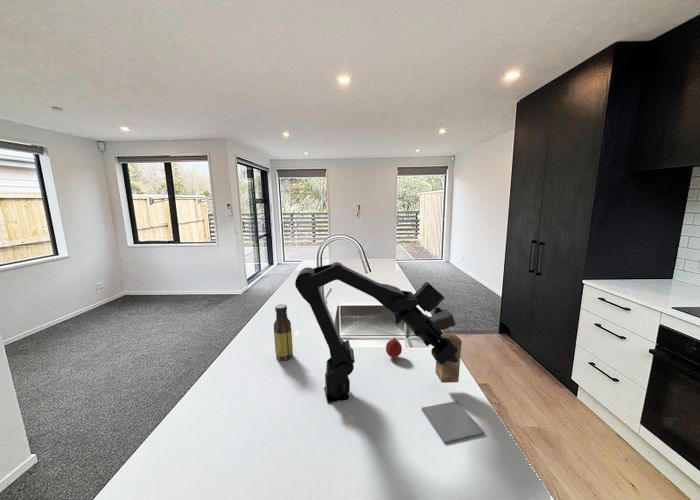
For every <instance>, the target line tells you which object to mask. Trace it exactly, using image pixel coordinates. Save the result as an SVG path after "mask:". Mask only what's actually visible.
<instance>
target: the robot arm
mask: <svg viewBox="0 0 700 500" xmlns="http://www.w3.org/2000/svg"><path fill="white" fill-rule="evenodd" d="M337 280H338V281H340V282H341V283H344V284H345V285H348V286H349V287H351V288H354V289H356V290H358V291H360V292H363V293H364V294H366V295H368V296H370V297H372V298H374V299H375V300H377V301H378V302H379V303H380V304H381V305H382V306H383V307H385V308H386V309H387V310H388V311H390V312H392V314H393V316H392V320H393V321H394V324H396V325H398V324H399V323H401V321H402V322H403V323H405V325H406V326H407V327H408V328H409V329H411V331H413V333H414V335H415V336H416V337H417V338H418V337H419V338H420V339H421V341H422V342H423V343H424V344H425V346H426V347H429V346H431V347H432V348H431V351H430V354H431V355H432V357H433V358H434V360H435V362H436V361H437V362H438V363H439V364H440V365H443V364H444V363H445V362H446V361H450V362H454V363H456V362H457V361H458V359H457V358H456V356H455V355H454V354H455V353H456V352H457V351H458V349H457V348H456V346H455V345H454V344H453V343H452V342H451V341H450V340H449V339H448V338H443V339H442V338H441V335H442V334H443V333H444V332H443V331H445V330H447V329H449V328H450V327H454V326H456V321H455V318H454V315H453V314H452V313H451V311H449V310H448V309H445V308H443V309H442V308H440V306H439V305H440V304H441V303H442V302H443V301H444V300H445V296H443V294H442V293H441V292H440V291H438V290H437V289H436V288H435V287H434V286H432V285H431V283H429V282H428V281H425V282H424V283H423V284H422V286H421V287H420V288H419V289H418V290H416V291H415V293H413V292H412V291H408V290H402V289H400V288H399V287H397V286H394V285H390V284H386V283H381V282H377V281H375V280H373V279H371V278H369V277H367V276H366V275H363V274H362V273H359V272H357V271H355V270H353V269H352V268H350V267H347V266H345V265H344V264H342V263H341V262H339V261H336V262H335V261H334V262H333V263H330V264H326V265H320V266H317V267H309V266H308V267H304V268H302V269H301V270H300V271H299V272H298V275H297V277H296V279H295V281H294V284H295V289H296V290H297V291H298V293H299V294H300V295H301V297H302V299H304V300H305V301H306V303H308V305H309V307H310V308H311V311H312V313H313V315H314V317H315V320H316V322H317V324H318V326H319V328H320V331H321V334H322V335H323V337H324V339H325V341H326V345H327V346H328V349H329V350H328V351H329V355H330V357H329V358H328V359H327V360H326V367H325V368H326V370H325V373H324V379H325V380H324V383H325V384H324V387H323V391H324V394H325V398H326V402H327V404H330V403H335V402H343V401H347V400H348V401H349V400H350V396H349V395H350V394H349V393H350V392H351V391H350V390H351V389H350V384H351V381H350V378H349V376H350V375H351V374H352V373H353V371H354V368H355V367H354V363H356V361H355V354H354V352H355V351H354V349H353V348H352V347H351V345H350V340H349V339H346V340H345V341H344V340H343V339H342V337H341V335H340V333H339V331H338V328H337V326H336V324H335V321H334V319H333V317H332V314H331V312H330V310H329V308H328V305H327V304H326V301H325V299H324V296H323V292H322V291H323V290H322V287H323V286H326V285H327V284H330V283H332V282H334V281H337ZM417 306H418V307H417ZM419 308H420V309H421V310H420V309H419ZM422 311H424V312H427V313H430V312H432V313H431V315H430V316H429V315H428V314H426V313H423V312H422ZM438 340H439V341H440V342H439V341H438Z"/></svg>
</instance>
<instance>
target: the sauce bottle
mask: <svg viewBox="0 0 700 500" xmlns="http://www.w3.org/2000/svg"><path fill="white" fill-rule="evenodd" d="M274 307H275V308H274V309H275V315H276V316H275V318H276V319H275V321H274V323H273V337H274V338H273V339H274V350H275V352H274V353H275V358H276V359H277V360H278V361H281V362H285V361H289V360H291V359H292V357H293V356H294V352H293V350H294V348H293V347H294V346H293V334H292V333H293V331H292V323H291V321H290V319H289V318H288V313H287V311H288V306H287V304H285V303H280V304H277V305H276V306H274Z"/></svg>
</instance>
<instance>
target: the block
mask: <svg viewBox="0 0 700 500" xmlns="http://www.w3.org/2000/svg"><path fill="white" fill-rule="evenodd" d="M441 338H442V339H443V338H448V339H449V340H450V341H451V342H452V343H453V344H454V345H455V346H456V348H457V349H458V351H457V352H456V353H455V354H454V355H455V356H456V358H457V359H458V361H457V362H456V363H454V362H450V361H446V362H445V363H444V364H443V365H440V364H439V363H438V362H437V361H436V360H435V374H436V376H437V377H438V379H439V381H440V383H445V384H446V383H459V380H460V366H461V365H460V364H461V355H462V354H461V353H462V341H463V340H462V339H461V338H460V337H459V336H458V335H457V334H456V332H443V334H442V335H441ZM438 341H439V340H438ZM439 342H440V341H439Z"/></svg>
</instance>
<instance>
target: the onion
mask: <svg viewBox="0 0 700 500" xmlns="http://www.w3.org/2000/svg"><path fill="white" fill-rule="evenodd" d="M402 347H403V346H402V344H401V342H399V340H398V339H397V337H396V336H394V337H392V338H391V339H390V340H388V342H386V345H385V352H386V354H387V355H388V356H389V357H390V358H392V359H396V358H397V357H399V356H400V355H401V354H402V351H403V348H402Z"/></svg>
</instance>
